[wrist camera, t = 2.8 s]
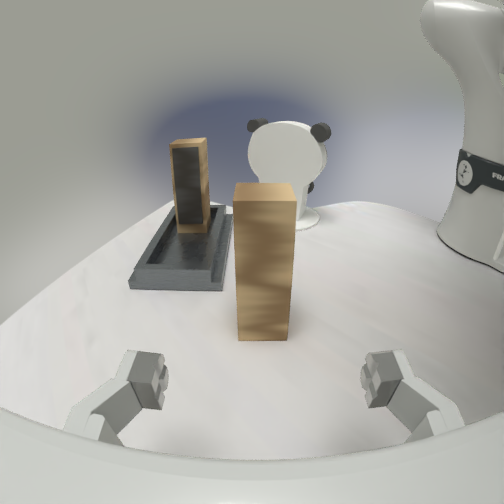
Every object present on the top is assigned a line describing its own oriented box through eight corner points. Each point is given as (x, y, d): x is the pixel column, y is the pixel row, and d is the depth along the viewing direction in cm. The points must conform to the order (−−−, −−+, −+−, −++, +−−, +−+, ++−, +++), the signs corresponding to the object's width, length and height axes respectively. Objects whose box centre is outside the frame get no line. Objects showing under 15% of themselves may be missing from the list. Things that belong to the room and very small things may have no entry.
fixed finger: (210, 220, 44) (206, 137, 38) (206, 234, 40) (200, 142, 35) (183, 221, 44) (177, 139, 38) (177, 234, 40) (168, 144, 35)
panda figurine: (329, 210, 51) (335, 121, 43) (314, 238, 41) (321, 126, 34) (262, 200, 55) (263, 116, 48) (234, 224, 46) (231, 121, 38)
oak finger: (283, 307, 29) (289, 181, 23) (286, 340, 25) (296, 201, 19) (240, 307, 29) (236, 181, 23) (238, 340, 25) (232, 200, 19)
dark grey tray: (233, 220, 47) (232, 204, 46) (221, 290, 31) (220, 269, 30) (169, 221, 47) (167, 206, 46) (130, 288, 31) (125, 268, 30)
